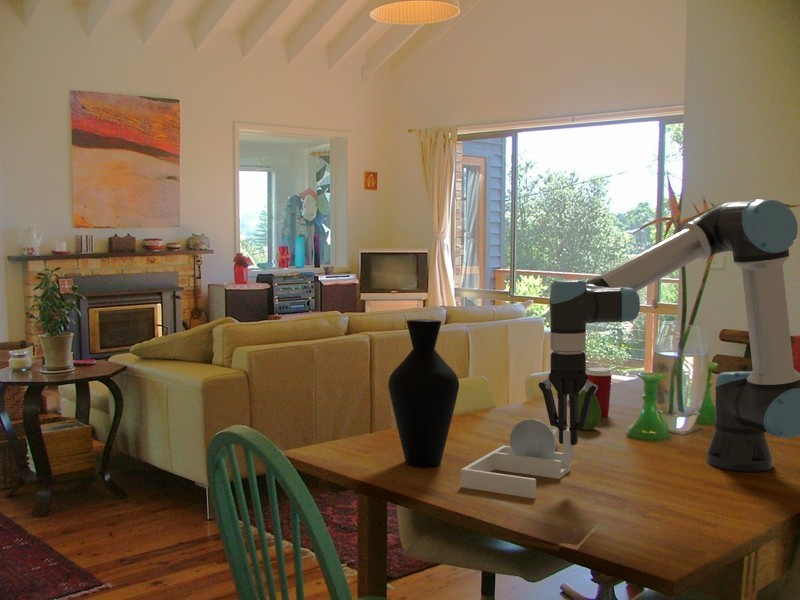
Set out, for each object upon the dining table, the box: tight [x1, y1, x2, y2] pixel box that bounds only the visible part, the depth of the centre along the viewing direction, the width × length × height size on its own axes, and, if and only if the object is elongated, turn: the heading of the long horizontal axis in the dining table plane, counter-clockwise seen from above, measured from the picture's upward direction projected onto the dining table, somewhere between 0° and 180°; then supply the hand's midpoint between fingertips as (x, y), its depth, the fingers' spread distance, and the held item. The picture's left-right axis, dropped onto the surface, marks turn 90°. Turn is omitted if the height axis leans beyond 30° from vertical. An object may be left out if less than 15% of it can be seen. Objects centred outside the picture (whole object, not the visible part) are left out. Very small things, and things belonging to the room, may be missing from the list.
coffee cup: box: [586, 367, 613, 419], centre depth 261 cm, size 8×8×15 cm
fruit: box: [578, 389, 602, 431], centre depth 243 cm, size 8×8×12 cm
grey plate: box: [509, 418, 557, 459], centre depth 201 cm, size 11×1×11 cm, turn 61°
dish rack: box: [460, 445, 571, 499], centre depth 194 cm, size 17×25×4 cm
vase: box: [387, 318, 460, 469], centre depth 205 cm, size 17×17×35 cm
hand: (568, 458), depth 185 cm, fingers closed
